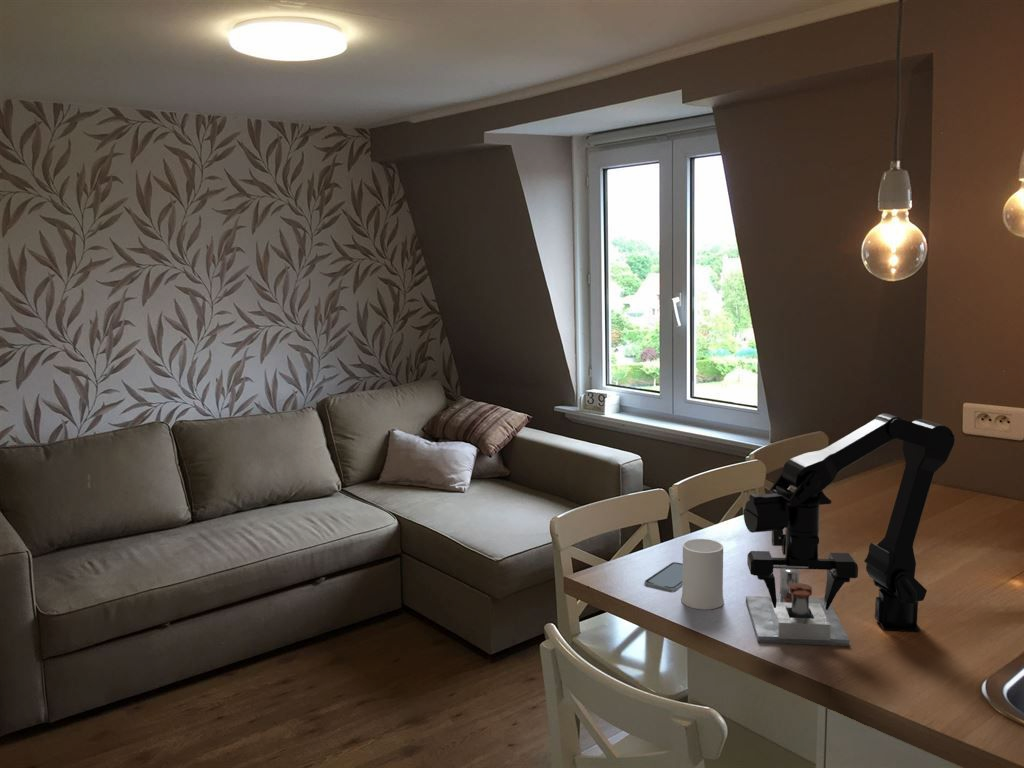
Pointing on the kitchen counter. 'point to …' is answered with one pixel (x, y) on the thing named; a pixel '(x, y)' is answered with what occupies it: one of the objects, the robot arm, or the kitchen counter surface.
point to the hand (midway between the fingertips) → (800, 607)
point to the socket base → (783, 628)
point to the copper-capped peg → (800, 599)
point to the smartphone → (667, 578)
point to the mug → (702, 574)
